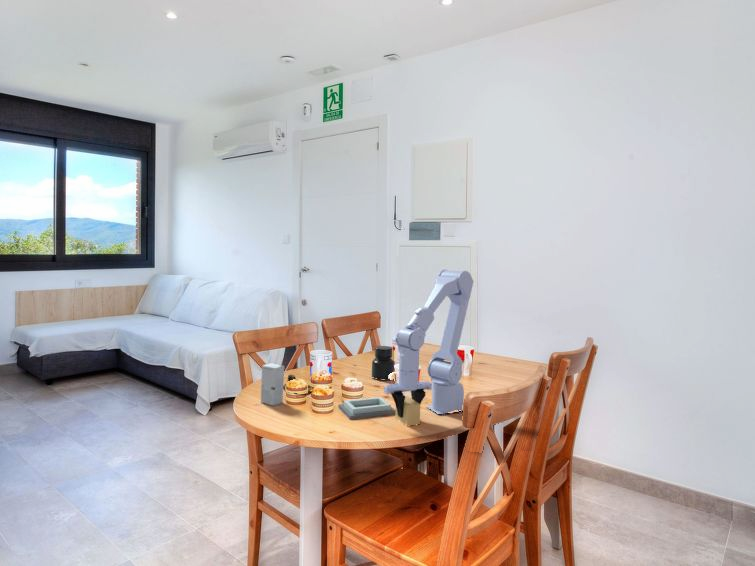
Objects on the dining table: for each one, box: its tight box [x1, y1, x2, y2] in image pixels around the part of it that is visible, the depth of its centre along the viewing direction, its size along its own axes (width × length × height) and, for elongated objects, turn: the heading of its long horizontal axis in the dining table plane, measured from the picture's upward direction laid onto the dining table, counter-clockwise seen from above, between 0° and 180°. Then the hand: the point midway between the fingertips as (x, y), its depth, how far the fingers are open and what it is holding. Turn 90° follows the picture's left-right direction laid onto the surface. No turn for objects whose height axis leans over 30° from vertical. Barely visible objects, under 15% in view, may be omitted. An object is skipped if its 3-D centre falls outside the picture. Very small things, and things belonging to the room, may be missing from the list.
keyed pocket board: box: [337, 396, 396, 420], centre depth 147 cm, size 15×11×2 cm
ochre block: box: [394, 395, 421, 427], centre depth 139 cm, size 4×8×6 cm, turn 23°
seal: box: [283, 374, 312, 394], centre depth 168 cm, size 9×5×15 cm
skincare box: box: [260, 362, 285, 406], centre depth 152 cm, size 6×4×12 cm
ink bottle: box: [371, 345, 396, 380], centre depth 186 cm, size 10×9×12 cm
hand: (407, 415), depth 139 cm, fingers closed on ochre block, 4 cm apart
